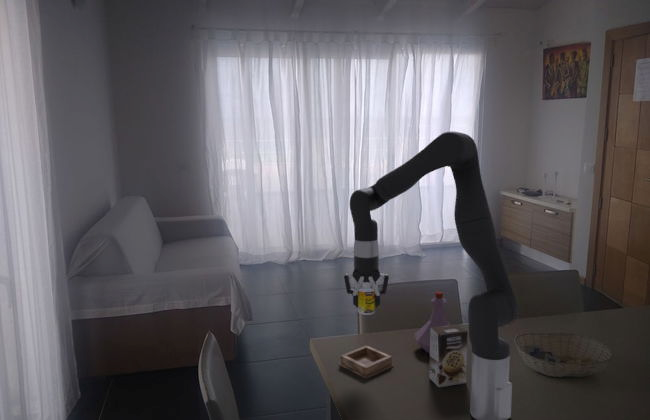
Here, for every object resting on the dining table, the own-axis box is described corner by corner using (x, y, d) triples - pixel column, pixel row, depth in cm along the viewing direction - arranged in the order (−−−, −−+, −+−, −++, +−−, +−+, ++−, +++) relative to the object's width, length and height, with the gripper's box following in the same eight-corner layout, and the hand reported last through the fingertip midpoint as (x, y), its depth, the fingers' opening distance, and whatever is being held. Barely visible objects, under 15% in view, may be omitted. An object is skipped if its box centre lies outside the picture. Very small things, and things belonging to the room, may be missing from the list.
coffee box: (438, 388, 147) (439, 335, 144) (428, 378, 153) (429, 326, 150) (467, 383, 149) (468, 331, 146) (455, 373, 155) (457, 323, 152)
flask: (473, 355, 167) (475, 296, 164) (430, 364, 161) (431, 304, 158) (444, 336, 182) (445, 282, 179) (404, 344, 176) (404, 288, 173)
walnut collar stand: (393, 366, 160) (393, 356, 160) (366, 378, 153) (366, 368, 152) (366, 354, 170) (366, 344, 169) (339, 365, 162) (339, 355, 161)
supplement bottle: (364, 316, 155) (364, 284, 153) (354, 311, 159) (353, 280, 158) (379, 313, 158) (379, 281, 156) (368, 307, 162) (368, 276, 161)
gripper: (389, 250, 158) (389, 302, 161) (343, 250, 160) (344, 301, 163) (390, 256, 151) (390, 311, 154) (341, 256, 152) (342, 310, 155)
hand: (366, 306), depth 158 cm, fingers closed on supplement bottle, 5 cm apart
